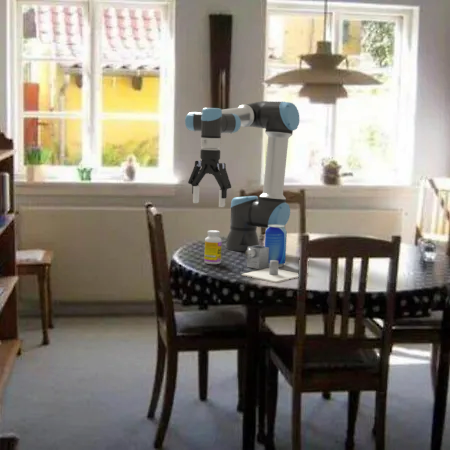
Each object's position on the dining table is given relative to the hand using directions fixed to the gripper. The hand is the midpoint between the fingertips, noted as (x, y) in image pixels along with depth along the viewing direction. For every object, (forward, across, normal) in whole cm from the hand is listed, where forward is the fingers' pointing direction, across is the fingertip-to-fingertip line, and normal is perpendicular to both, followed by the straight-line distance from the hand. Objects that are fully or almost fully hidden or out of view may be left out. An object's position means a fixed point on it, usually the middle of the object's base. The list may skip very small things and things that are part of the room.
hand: (208, 205), depth 303 cm
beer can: (+25, +14, +25) cm, 37 cm away
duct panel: (+24, +26, +9) cm, 37 cm away
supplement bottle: (+25, -4, +8) cm, 26 cm away
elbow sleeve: (+24, +12, +15) cm, 31 cm away
